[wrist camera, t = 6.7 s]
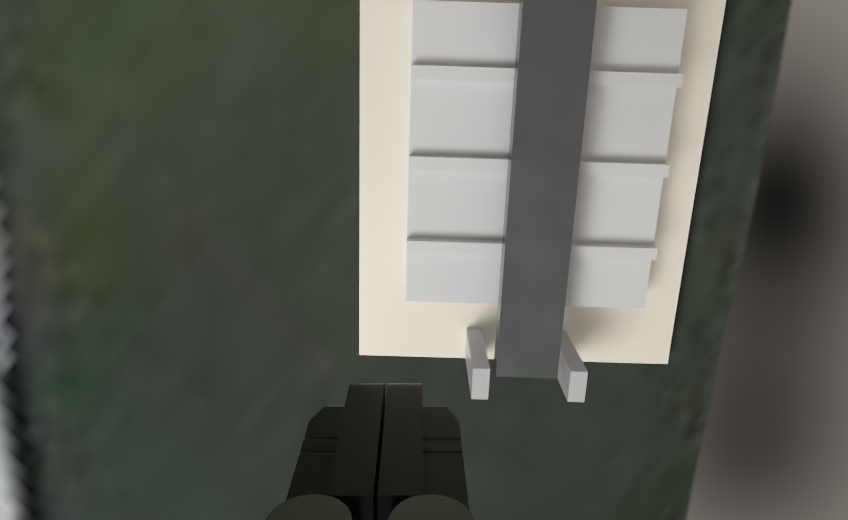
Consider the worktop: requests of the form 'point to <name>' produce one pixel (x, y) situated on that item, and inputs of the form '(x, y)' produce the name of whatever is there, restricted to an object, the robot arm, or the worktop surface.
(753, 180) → the worktop surface
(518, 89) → the strap
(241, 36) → the worktop surface
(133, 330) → the worktop surface
